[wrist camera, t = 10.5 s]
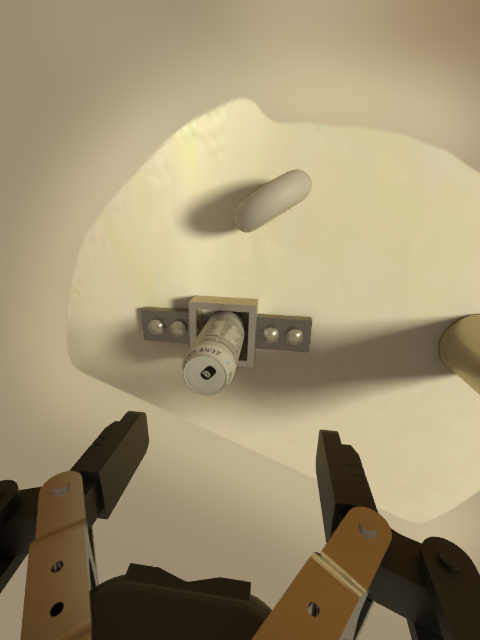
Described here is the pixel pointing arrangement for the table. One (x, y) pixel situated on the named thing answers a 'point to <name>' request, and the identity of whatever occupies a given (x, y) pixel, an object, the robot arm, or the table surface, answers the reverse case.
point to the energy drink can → (214, 354)
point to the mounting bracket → (262, 327)
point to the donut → (272, 200)
